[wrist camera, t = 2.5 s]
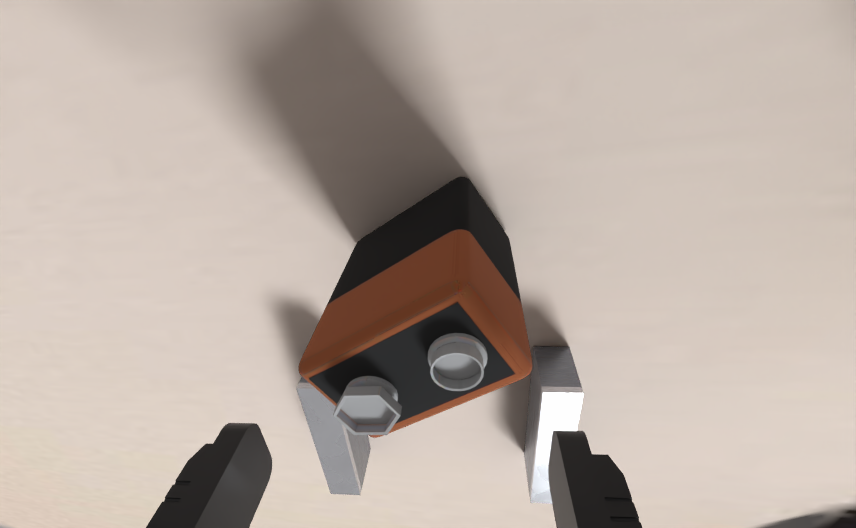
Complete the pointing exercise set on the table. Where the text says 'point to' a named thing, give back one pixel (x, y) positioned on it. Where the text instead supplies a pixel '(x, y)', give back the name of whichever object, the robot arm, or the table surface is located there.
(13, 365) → the table surface
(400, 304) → the battery
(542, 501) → the housing
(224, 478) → the robot arm
